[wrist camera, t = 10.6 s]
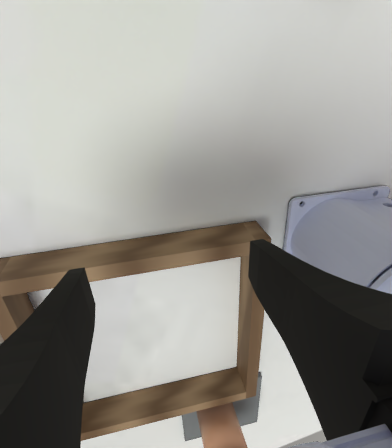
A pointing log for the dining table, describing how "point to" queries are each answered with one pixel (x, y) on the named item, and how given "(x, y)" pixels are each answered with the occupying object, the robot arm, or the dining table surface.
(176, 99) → the dining table surface
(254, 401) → the mat
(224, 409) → the terracotta pot
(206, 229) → the frame
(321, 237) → the robot arm
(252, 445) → the dining table surface
